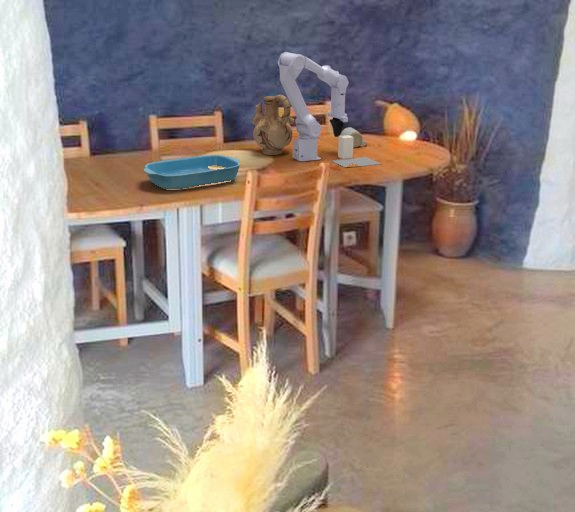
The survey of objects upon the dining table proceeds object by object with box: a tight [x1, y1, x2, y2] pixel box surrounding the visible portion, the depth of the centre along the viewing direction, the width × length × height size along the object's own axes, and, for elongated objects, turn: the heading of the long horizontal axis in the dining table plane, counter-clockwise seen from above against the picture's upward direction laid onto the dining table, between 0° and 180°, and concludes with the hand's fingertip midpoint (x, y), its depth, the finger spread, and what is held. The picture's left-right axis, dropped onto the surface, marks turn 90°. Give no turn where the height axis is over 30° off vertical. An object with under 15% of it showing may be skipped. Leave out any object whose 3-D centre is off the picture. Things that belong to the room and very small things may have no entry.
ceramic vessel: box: [250, 94, 295, 156], centre depth 366 cm, size 18×19×25 cm
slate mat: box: [331, 156, 382, 168], centre depth 354 cm, size 16×12×1 cm
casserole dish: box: [143, 154, 241, 190], centre depth 324 cm, size 37×22×7 cm, turn 121°
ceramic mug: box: [340, 126, 368, 149], centre depth 383 cm, size 11×8×8 cm
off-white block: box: [337, 135, 354, 160], centre depth 361 cm, size 4×4×9 cm
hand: (337, 136), depth 367 cm, fingers closed
